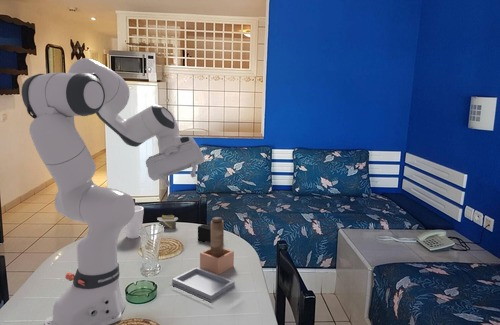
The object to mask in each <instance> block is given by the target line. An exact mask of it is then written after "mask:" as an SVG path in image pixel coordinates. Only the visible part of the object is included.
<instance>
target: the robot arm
mask: <svg viewBox="0 0 500 325" xmlns="http://www.w3.org/2000/svg"><path fill="white" fill-rule="evenodd" d="M129 88H130V87H129V85H128V82H126V81H125V79H124V78H123V77H122V76H121V75H120V74H118V73H117V72H116V71H114V70H112V68H109V67H107V66H106V65H104V64H103V63H100V62H99V61H97V60H94V59H92V58H87V57H85V58H80V59H77V60H76V61H74V62H73V63H72V65H70V67H69V69H68V72H49V73H38V74H33V75H32V76H29V77H28V78H27V79H26V80H24V81H23V83H22V85H21V98H22V102H23V104H24V106H25V107H26V112H27V114H28V115H29V116H30V117H31V118H33V120H32V121H31V123H30V125H29V135H30V137H31V140H32V143H33V145H34V147H35V150H36V151H37V153H38V156H39V157H40V159H41V160H42V162H43V164H44V166H45V167H46V169H47V170H48V172H49V174H50V176H51V177H52V179H53V180H54V183H55V184H56V187H57V193H56V195H55V197H54V207H55V210H56V212H57V213H58V214H60V215H61V216H64V218H67V219H68V220H71V221H75V222H80V223H85V224H87V226H88V228H87V230H88V231H87V235H85V236H84V237H83V238H81V239H79V241H78V243H77V246H76V257H77V258H76V259H77V269H76V271H75V273H72V272H69V271H68V272H67V273H65V279H66V280H68V281H70V282H71V281H72V283H71V284H70V286H69V287H68V288H66V290H65V291H64V292H63V293H62V294H61V295H60V297H59V298H57V300H56V301H55V302H54V304H53V309H52V315H50V316H48V317H47V318H45V320H44V325H112V324H114V323H117V322H120V321H121V320H122V317H123V316H122V314H123V311H124V310H125V307H126V304H125V301H124V298H123V295H122V292H121V287H120V281H119V278H120V264H119V263H118V239H119V236H120V233H121V231H122V230H123V229H124V228H125V226H126V225H127V224H128V223H129V222H130V221H131V220H132V218H133V216H134V213H135V206H136V203H135V200H134V198H133V197H132V196H131V195H130V194H128V193H126V192H123V191H122V190H119V189H117V188H109V187H104V186H103V187H102V186H100V185H97V184H96V183H95V182H94V181H93V177H94V176H95V173H96V170H97V164H96V162H95V161H94V159H93V156H92V155H91V153H90V151H89V149H88V147H87V145H86V143H85V141H84V139H83V138H82V136H81V134H80V133H79V131H78V130H77V128H76V124H75V117H79V116H80V117H88V116H91V115H95V114H96V116H97V117H98V119H100V121H102V123H104V125H106V126H108V128H110V130H112V131H113V132H114V133H115V134H117V136H118V137H119V138H120V139H121V140H122V141H123V142H124V144H126V145H128V146H130V147H134V148H135V147H136V148H137V147H139V146H140V145H142V144H144V143H145V142H146V141H148V140H150V139H151V138H153V137H156V139H157V146H158V150H159V152H158V153H157V154H154V155H151V156H149V157H148V158H147V159H146V160H145V166H146V168H147V174H148V177H149V179H150V180H152V181H153V182H154V181H157V180H161V182H163V183H164V186H165V187H166V188H168V187H171V182H170V180H168V179H167V180H166V177H169V176H172V175H174V174H177V173H179V172H181V171H185V170H187V169H190V168H192V169H191V171H189V174H190V177H191V178H196V177H197V175H196V172H197V168H198V167H197V166H199V165H201V164H203V163H205V160H206V159H205V156H204V154H203V152H202V150H201V148H200V147H199V145H198V143H197V142H196V140H195V139H194V137H192V136H190V135H188V136H181V135H180V128H179V125H178V123H177V120H176V118H175V115H174V114H173V113H172V111H171V110H169V109H167V108H166V107H164V106H161V105H159V104H153V105H150V106H148V107H146V108H145V109H143V110H141V111H140V112H138V113H136V114H134V115H133V116H131V117H129V118H126V119H125V118H124V119H123V117H121V116H120V115H119V114H120V113H121V112H122V111H123V110H124V109H125V108H126V106H127V105H128V102H129V99H130V89H129Z"/></svg>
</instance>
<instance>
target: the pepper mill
mask: <svg viewBox="0 0 500 325" xmlns="http://www.w3.org/2000/svg"><path fill="white" fill-rule="evenodd" d="M224 223H225V222H224V220H223V217H219V216H215V217H212V219H211V220H210V225H211V243H210V248H211V256H214V257H217V258H219V257H221V256H223V248H224V243H225V242H224V233H225V232H224V228H225V227H224V225H225V224H224Z"/></svg>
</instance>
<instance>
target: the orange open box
mask: <svg viewBox="0 0 500 325" xmlns="http://www.w3.org/2000/svg"><path fill="white" fill-rule="evenodd" d="M234 257H235V251H234V250H231V249H227V248H224V247H223V256H221V257H219V258H217V257H214V256H211V247H209V248H208V249H205V250H203V251H201V252H200V253H199V268H201V269H203V270H206V271H209V272H211V273H214V274H217V275H219V276H220V275H221V274H222V273H224V272H226V271H228V270H229V269H232V268H233V267H234V266H235V265H234V263H235V262H234V261H235V260H234V259H235V258H234Z"/></svg>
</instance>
